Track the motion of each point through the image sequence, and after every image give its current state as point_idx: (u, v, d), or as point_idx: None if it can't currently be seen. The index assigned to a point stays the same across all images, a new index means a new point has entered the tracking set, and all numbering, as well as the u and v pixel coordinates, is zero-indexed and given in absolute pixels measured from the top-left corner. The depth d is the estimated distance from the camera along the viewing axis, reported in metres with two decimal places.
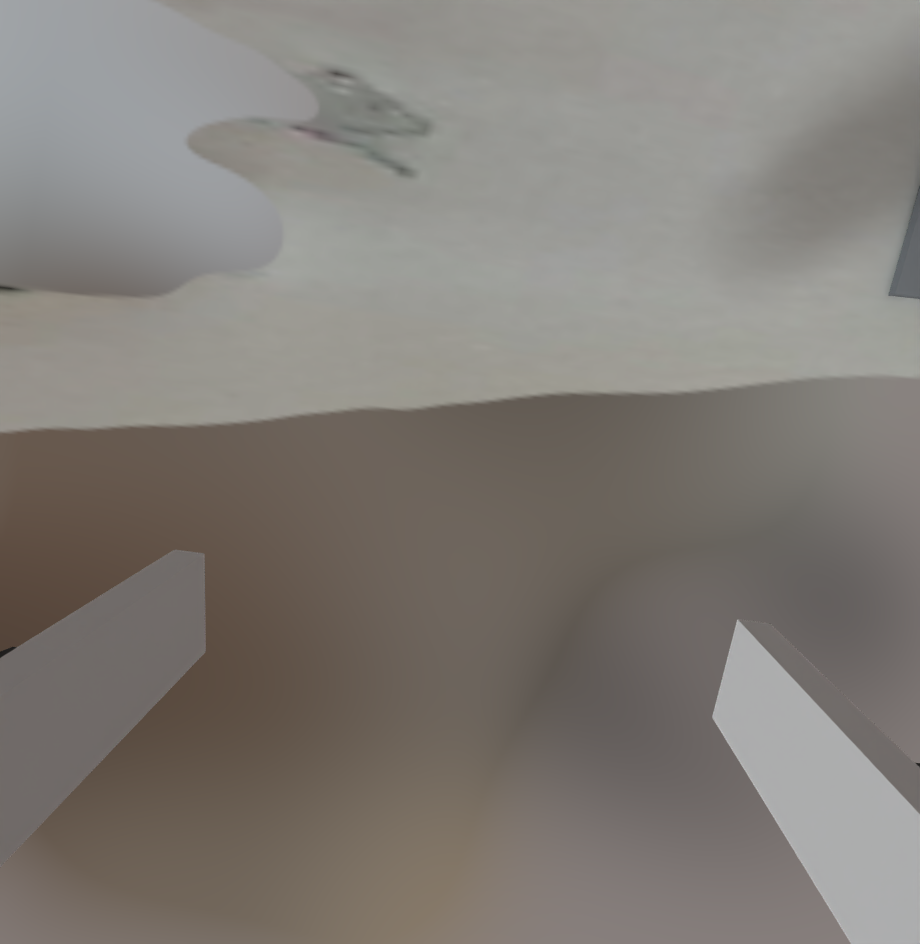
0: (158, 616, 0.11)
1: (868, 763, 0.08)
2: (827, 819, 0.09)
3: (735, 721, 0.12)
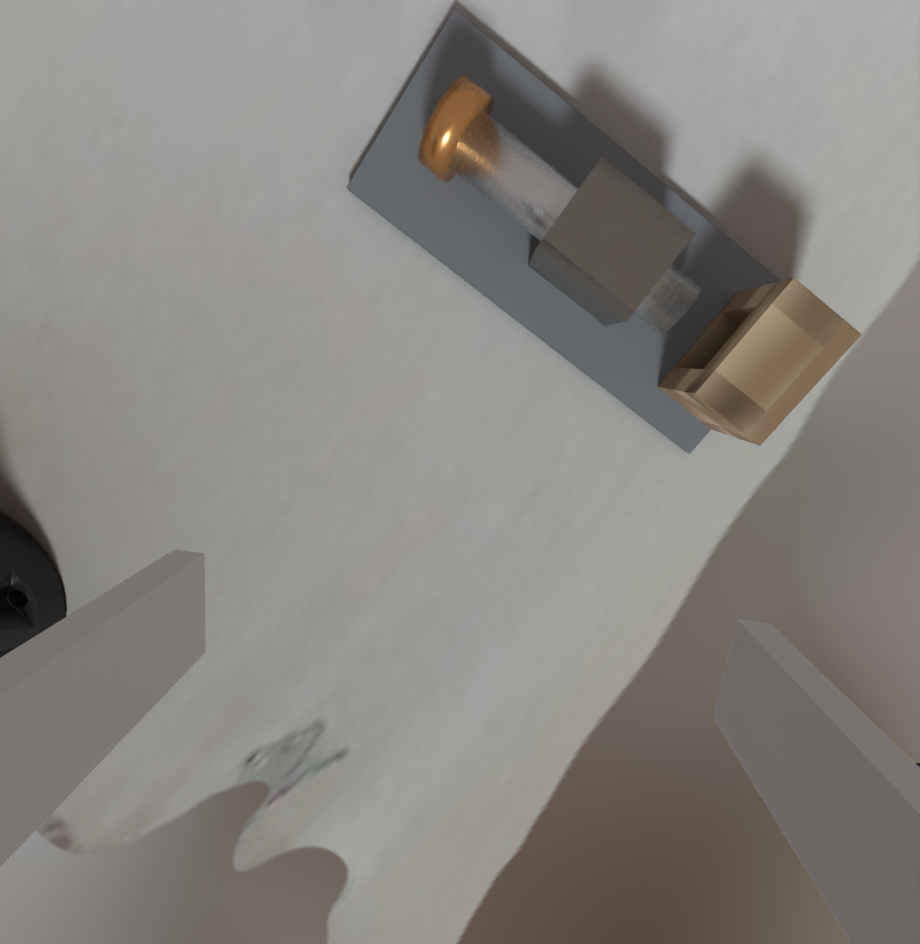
0: (158, 616, 0.11)
1: (868, 763, 0.08)
2: (827, 819, 0.09)
3: (735, 721, 0.12)
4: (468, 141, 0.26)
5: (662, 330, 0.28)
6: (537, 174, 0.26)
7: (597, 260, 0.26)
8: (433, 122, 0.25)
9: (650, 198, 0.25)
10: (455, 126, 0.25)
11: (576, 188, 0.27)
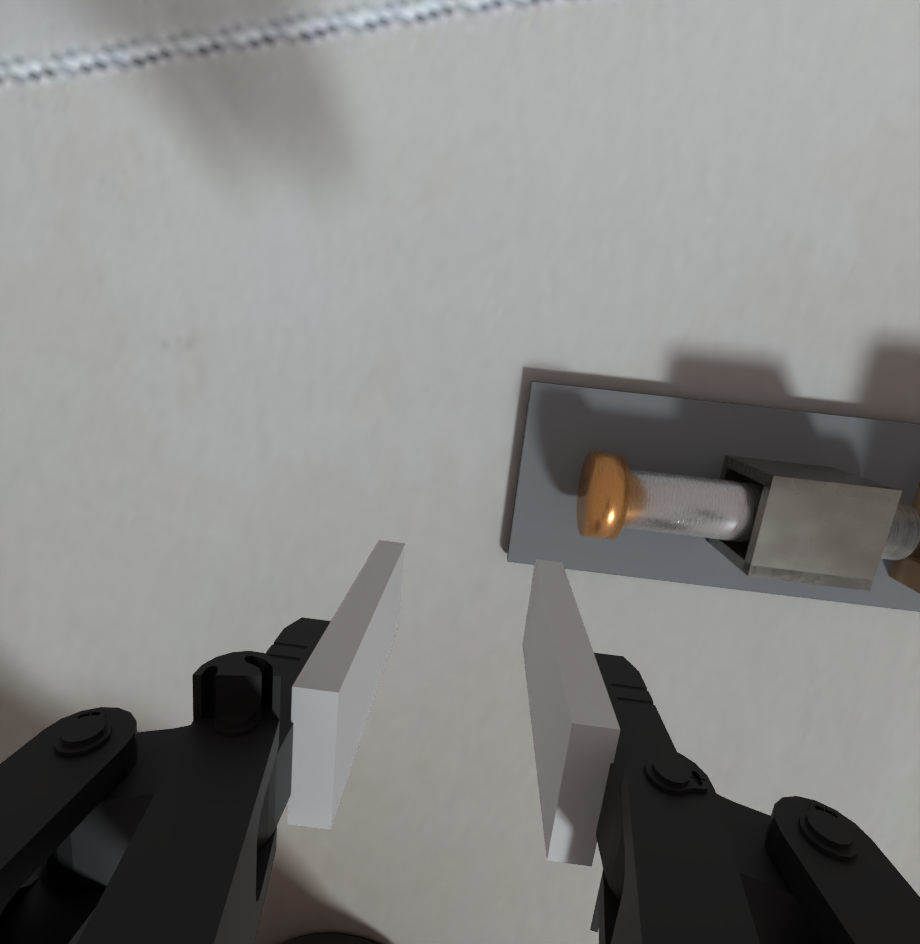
0: (391, 595, 0.13)
1: None
2: (541, 697, 0.11)
3: (527, 642, 0.14)
4: (630, 513, 0.26)
5: (893, 559, 0.27)
6: (708, 506, 0.26)
7: (813, 557, 0.25)
8: (595, 522, 0.26)
9: (840, 485, 0.24)
10: (619, 516, 0.25)
11: (746, 492, 0.26)
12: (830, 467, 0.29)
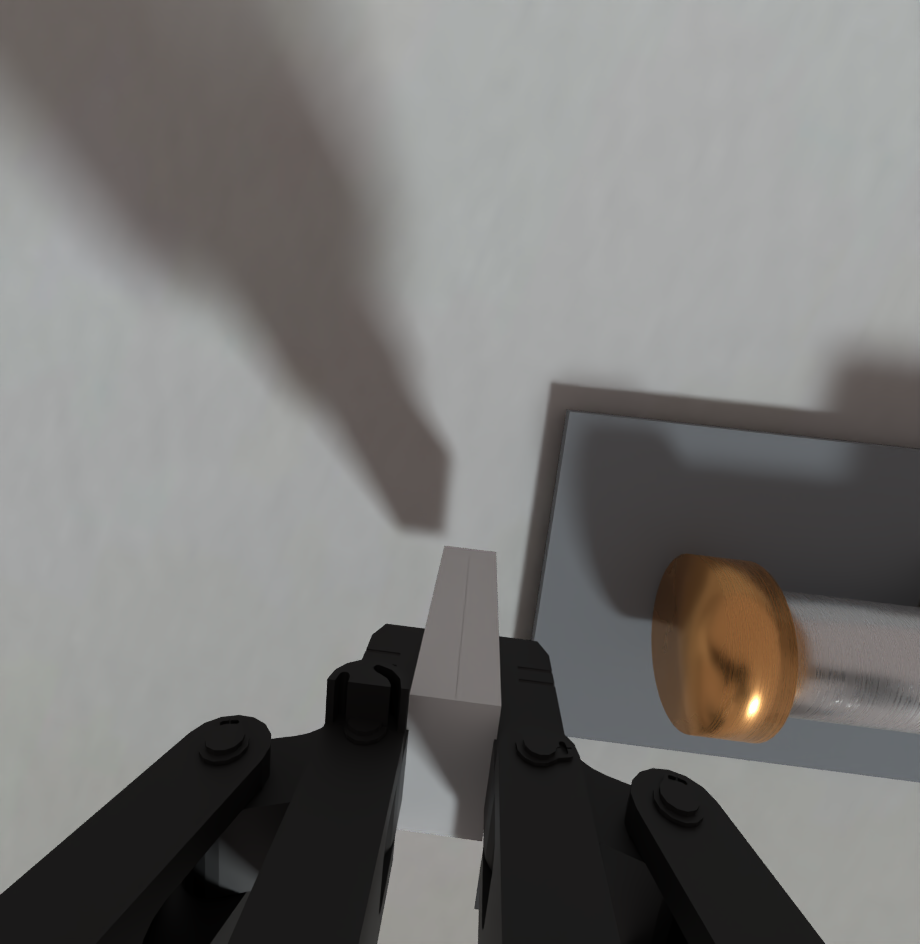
0: None
1: None
2: None
3: None
4: None
5: None
6: None
7: None
8: (718, 724, 0.12)
9: None
10: (773, 717, 0.12)
11: None
12: None
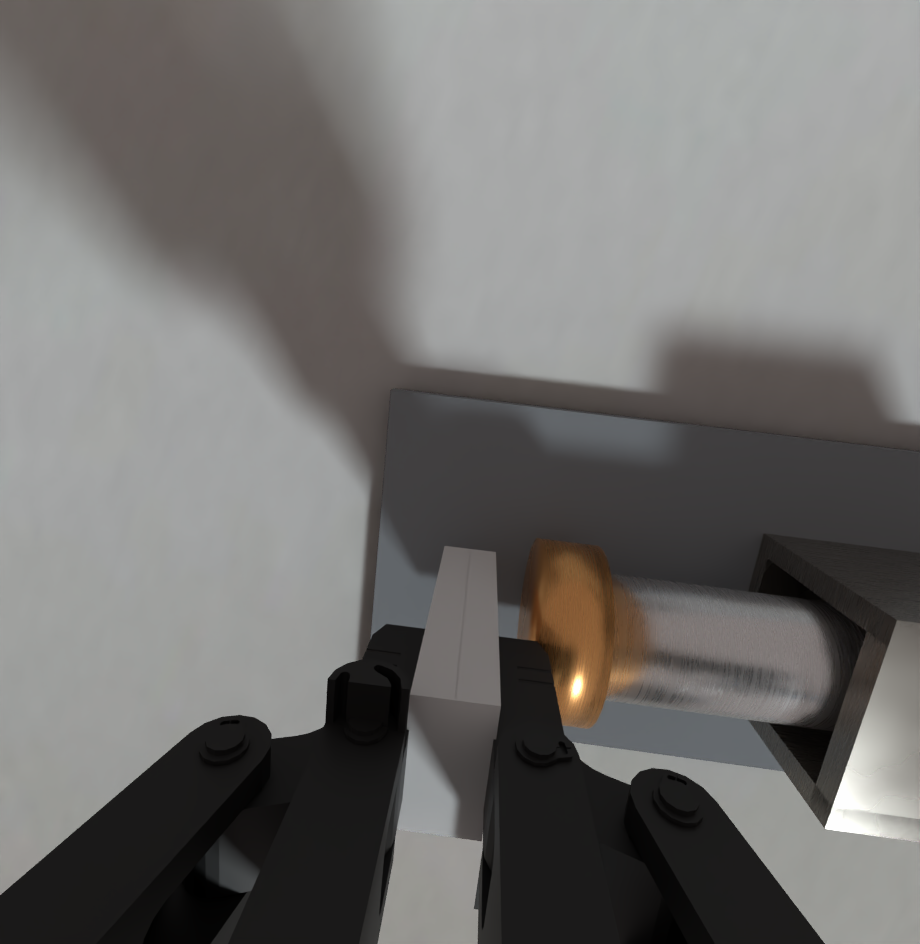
0: None
1: None
2: None
3: None
4: (615, 684, 0.12)
5: None
6: (786, 674, 0.12)
7: None
8: None
9: None
10: (590, 700, 0.11)
11: None
12: None
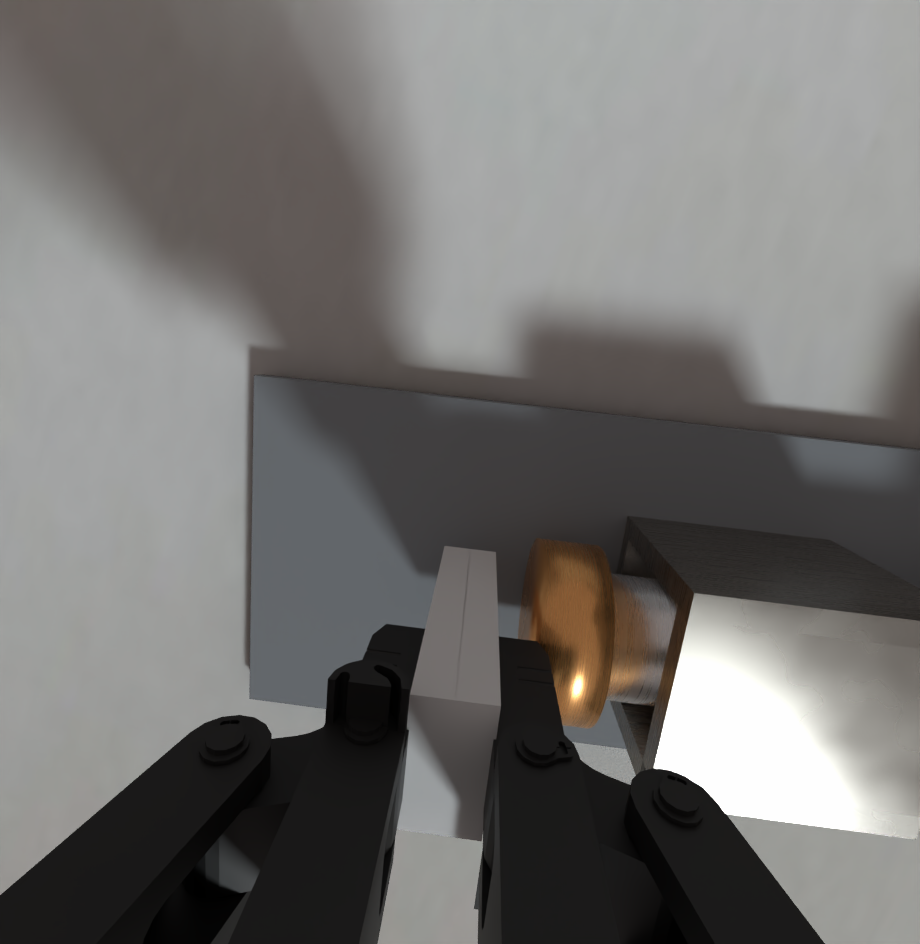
0: None
1: None
2: None
3: None
4: (616, 683, 0.12)
5: None
6: None
7: (789, 768, 0.11)
8: None
9: (850, 616, 0.10)
10: (591, 700, 0.11)
11: None
12: (828, 541, 0.15)
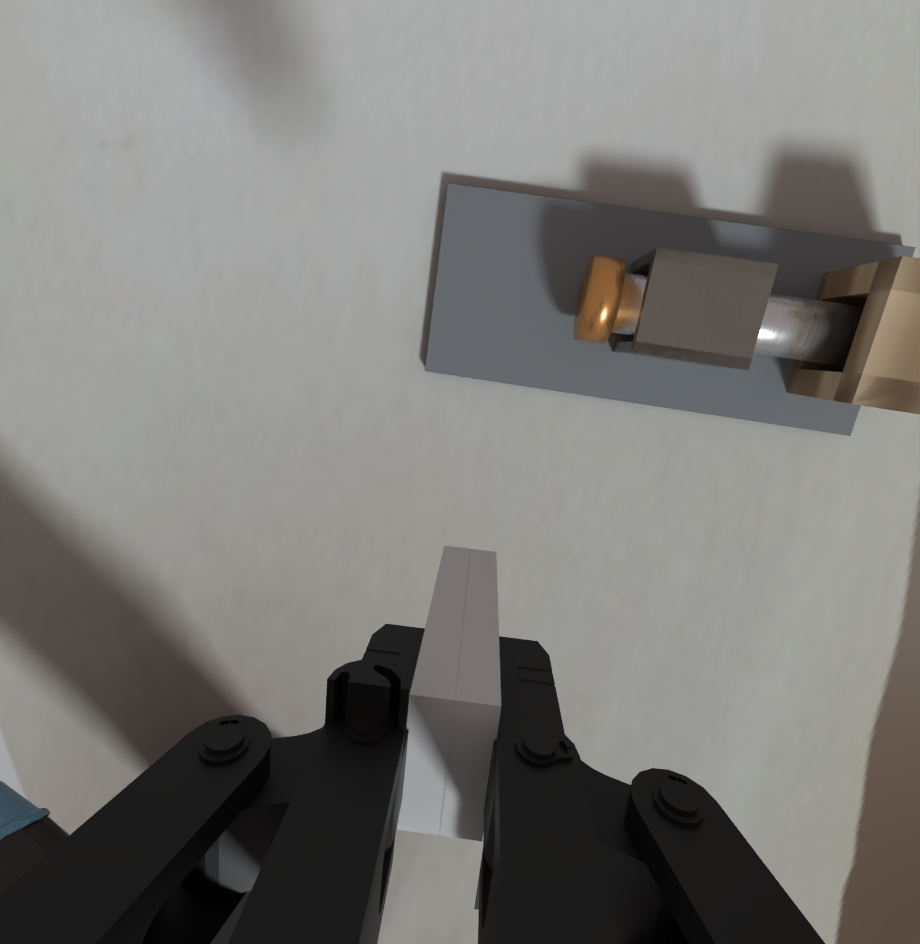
0: None
1: None
2: None
3: None
4: (624, 308, 0.27)
5: None
6: None
7: (694, 333, 0.26)
8: (590, 313, 0.27)
9: (719, 257, 0.25)
10: (613, 306, 0.26)
11: None
12: None
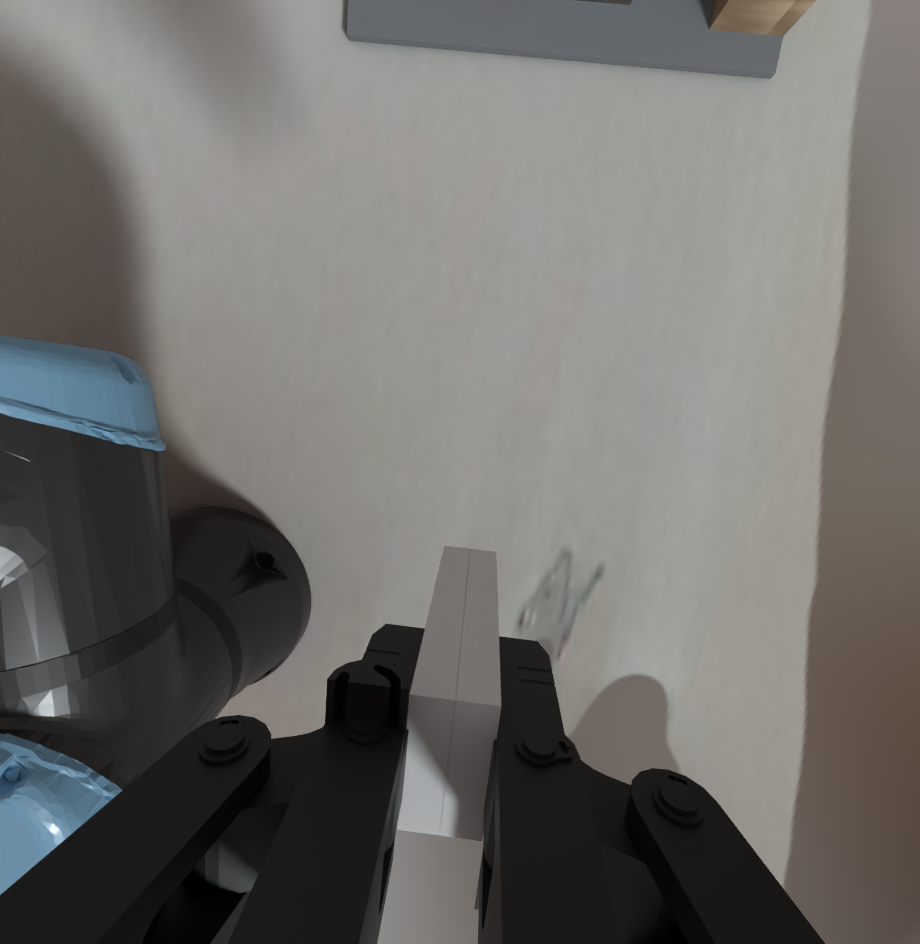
0: None
1: None
2: None
3: None
4: None
5: None
6: None
7: None
8: None
9: None
10: None
11: None
12: None
